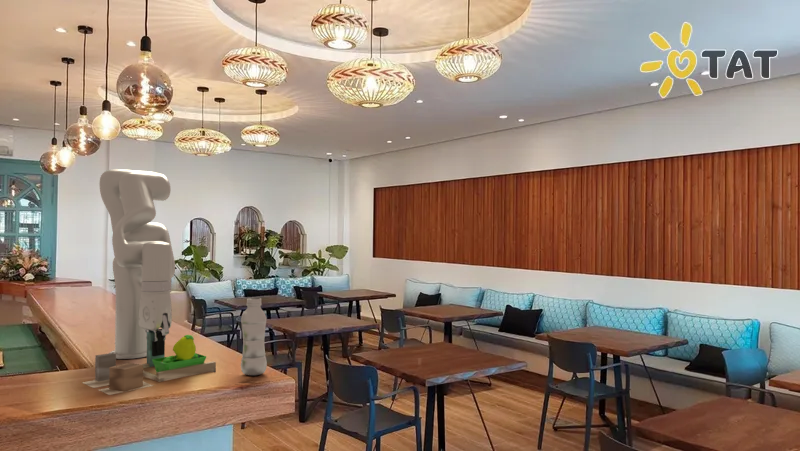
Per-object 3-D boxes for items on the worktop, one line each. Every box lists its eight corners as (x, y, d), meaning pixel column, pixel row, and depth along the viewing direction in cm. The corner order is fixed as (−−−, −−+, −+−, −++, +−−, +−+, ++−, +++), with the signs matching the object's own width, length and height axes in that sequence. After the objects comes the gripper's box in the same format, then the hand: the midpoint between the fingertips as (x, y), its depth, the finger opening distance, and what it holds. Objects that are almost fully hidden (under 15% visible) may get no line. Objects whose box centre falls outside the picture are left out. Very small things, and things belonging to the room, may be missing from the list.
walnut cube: (109, 389, 126) (109, 367, 126) (128, 383, 131) (128, 362, 131) (124, 391, 124) (124, 369, 124) (143, 386, 128) (143, 364, 129)
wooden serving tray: (125, 373, 144) (125, 334, 144) (180, 362, 156) (180, 327, 156) (159, 385, 132) (159, 344, 133) (215, 373, 144) (216, 335, 144)
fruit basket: (192, 371, 148) (192, 329, 148) (210, 376, 142) (210, 332, 142) (150, 379, 139) (150, 334, 139) (168, 385, 133) (168, 339, 134)
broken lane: (81, 387, 131) (82, 357, 132) (124, 379, 139) (124, 350, 139) (109, 400, 121) (109, 367, 122) (153, 390, 129) (153, 359, 129)
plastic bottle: (260, 378, 140) (260, 300, 140) (235, 377, 141) (236, 299, 142) (270, 372, 146) (271, 297, 147) (247, 371, 148) (248, 296, 148)
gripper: (129, 286, 152) (128, 352, 152) (157, 290, 142) (156, 361, 141) (156, 284, 158) (155, 348, 157) (184, 288, 147) (183, 356, 147)
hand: (155, 354), depth 149 cm, fingers closed on wooden serving tray, 2 cm apart
